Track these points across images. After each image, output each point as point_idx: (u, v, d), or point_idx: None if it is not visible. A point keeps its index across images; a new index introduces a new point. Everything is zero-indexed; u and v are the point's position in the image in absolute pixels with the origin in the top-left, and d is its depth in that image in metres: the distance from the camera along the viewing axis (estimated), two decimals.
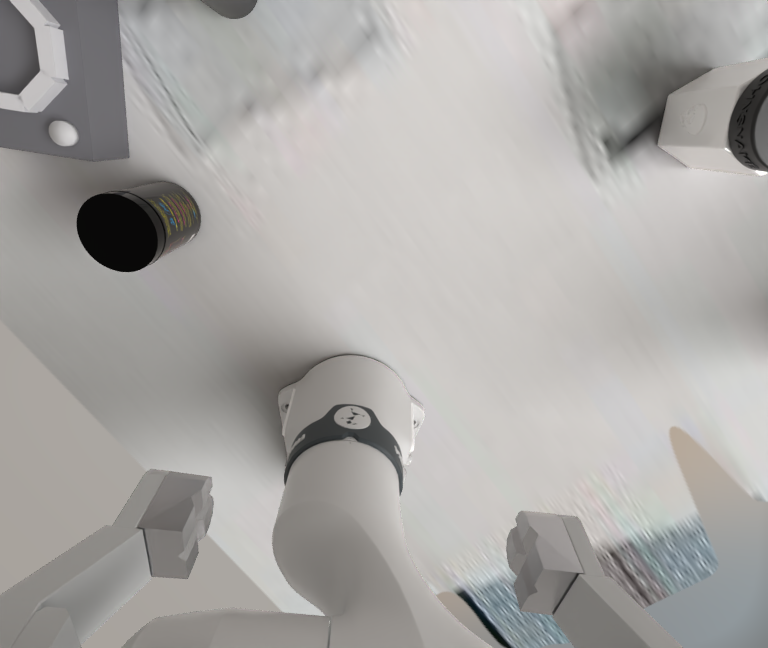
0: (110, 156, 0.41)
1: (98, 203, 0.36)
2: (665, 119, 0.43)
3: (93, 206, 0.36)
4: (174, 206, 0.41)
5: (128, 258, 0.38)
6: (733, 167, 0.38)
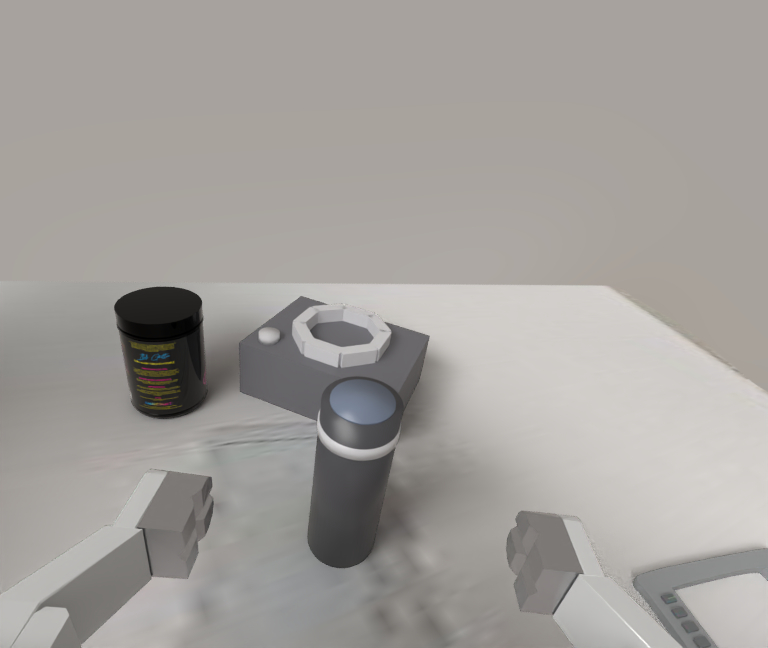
0: (242, 366, 0.43)
1: (193, 305, 0.38)
2: None
3: (194, 302, 0.38)
4: (161, 374, 0.37)
5: (133, 300, 0.37)
6: None
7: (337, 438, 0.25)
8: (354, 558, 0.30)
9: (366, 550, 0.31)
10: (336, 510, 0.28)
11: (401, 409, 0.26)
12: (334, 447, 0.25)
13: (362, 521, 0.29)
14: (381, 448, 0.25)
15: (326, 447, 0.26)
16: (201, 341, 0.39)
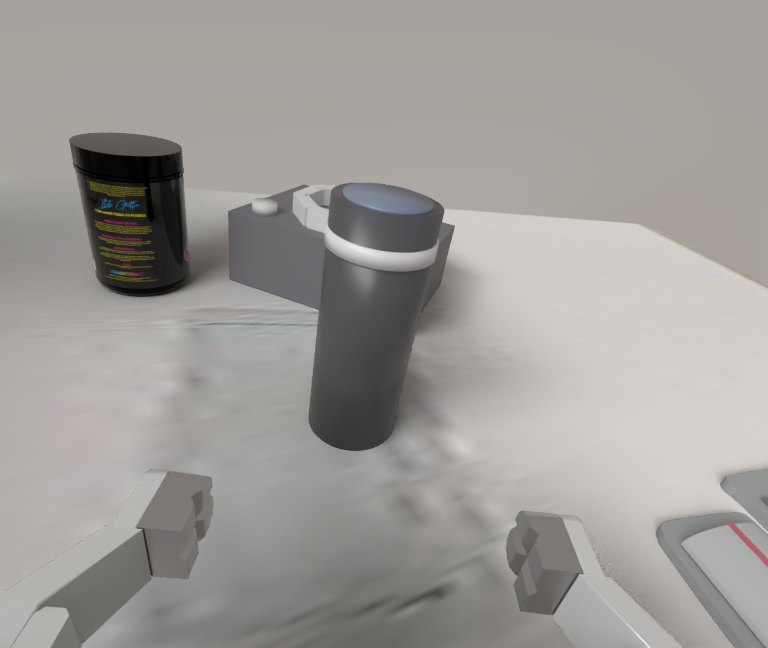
0: (232, 244, 0.36)
1: (170, 149, 0.31)
2: None
3: (171, 147, 0.31)
4: (129, 231, 0.30)
5: (95, 138, 0.30)
6: None
7: (353, 235, 0.18)
8: (369, 437, 0.23)
9: (384, 430, 0.24)
10: (348, 358, 0.21)
11: (441, 210, 0.19)
12: (348, 253, 0.18)
13: (382, 379, 0.21)
14: (414, 255, 0.18)
15: (337, 254, 0.18)
16: (181, 199, 0.32)
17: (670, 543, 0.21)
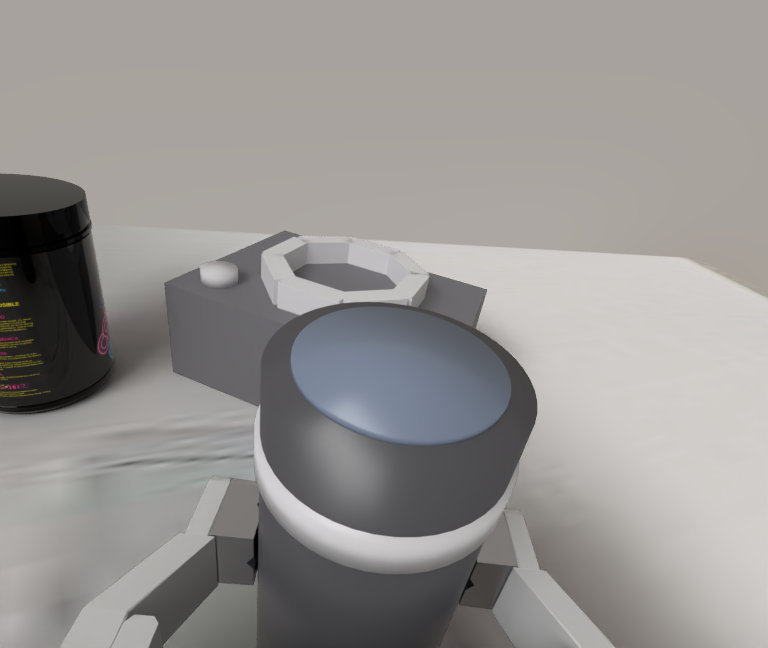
0: (172, 327, 0.25)
1: (63, 200, 0.20)
2: None
3: (68, 196, 0.20)
4: None
5: None
6: None
7: (310, 494, 0.07)
8: None
9: None
10: None
11: (528, 392, 0.08)
12: (300, 523, 0.07)
13: None
14: (470, 529, 0.07)
15: (277, 517, 0.07)
16: (85, 272, 0.21)
17: None
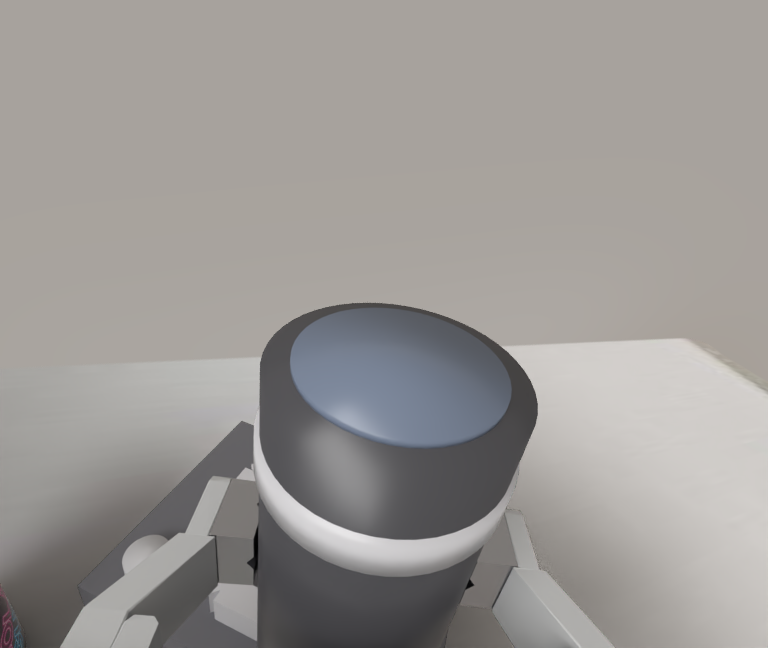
0: None
1: None
2: None
3: None
4: None
5: None
6: None
7: (310, 496, 0.07)
8: None
9: None
10: None
11: (529, 393, 0.08)
12: (300, 525, 0.07)
13: None
14: (470, 532, 0.07)
15: (275, 519, 0.07)
16: None
17: None
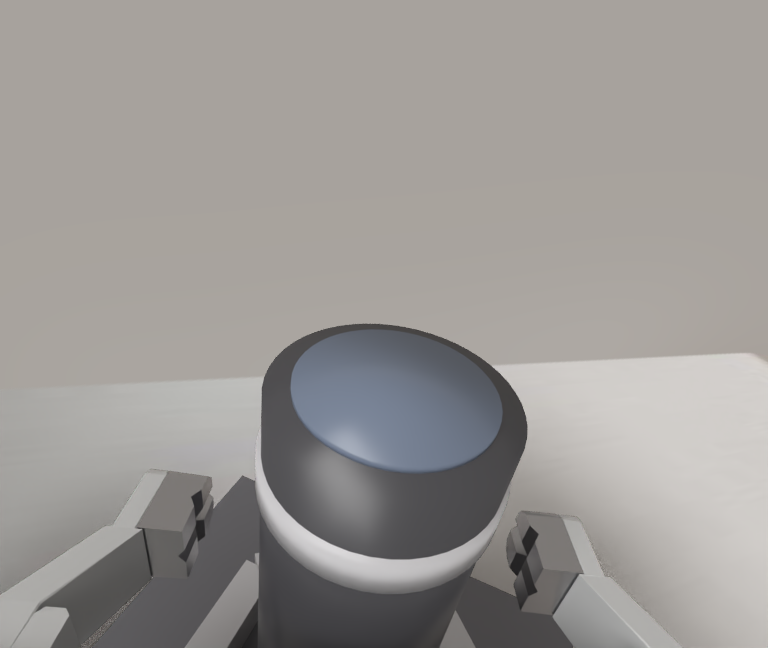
0: None
1: None
2: None
3: None
4: None
5: None
6: None
7: (309, 518, 0.07)
8: None
9: None
10: None
11: (519, 416, 0.08)
12: (299, 544, 0.07)
13: None
14: (463, 551, 0.07)
15: (276, 538, 0.08)
16: None
17: None
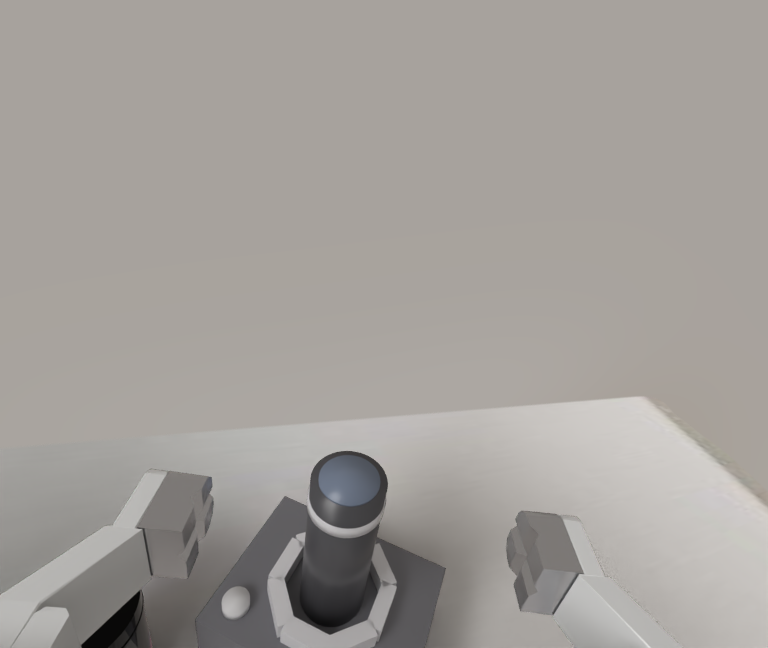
0: (200, 640, 0.33)
1: (126, 605, 0.28)
2: None
3: None
4: None
5: None
6: None
7: (324, 518, 0.27)
8: (343, 618, 0.32)
9: (354, 610, 0.33)
10: (325, 578, 0.30)
11: (385, 488, 0.28)
12: (321, 525, 0.27)
13: (349, 588, 0.30)
14: (365, 526, 0.27)
15: (315, 523, 0.28)
16: (140, 640, 0.29)
17: None
